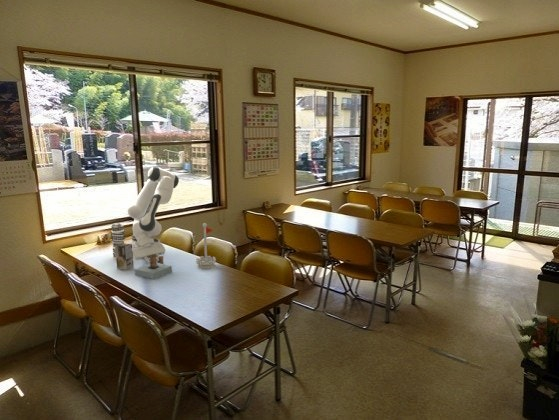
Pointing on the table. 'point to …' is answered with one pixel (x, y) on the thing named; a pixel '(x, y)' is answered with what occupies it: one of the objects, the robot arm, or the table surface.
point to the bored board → (153, 271)
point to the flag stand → (207, 261)
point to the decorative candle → (117, 236)
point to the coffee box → (124, 256)
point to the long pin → (153, 261)
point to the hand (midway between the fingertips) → (153, 262)
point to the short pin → (160, 259)
